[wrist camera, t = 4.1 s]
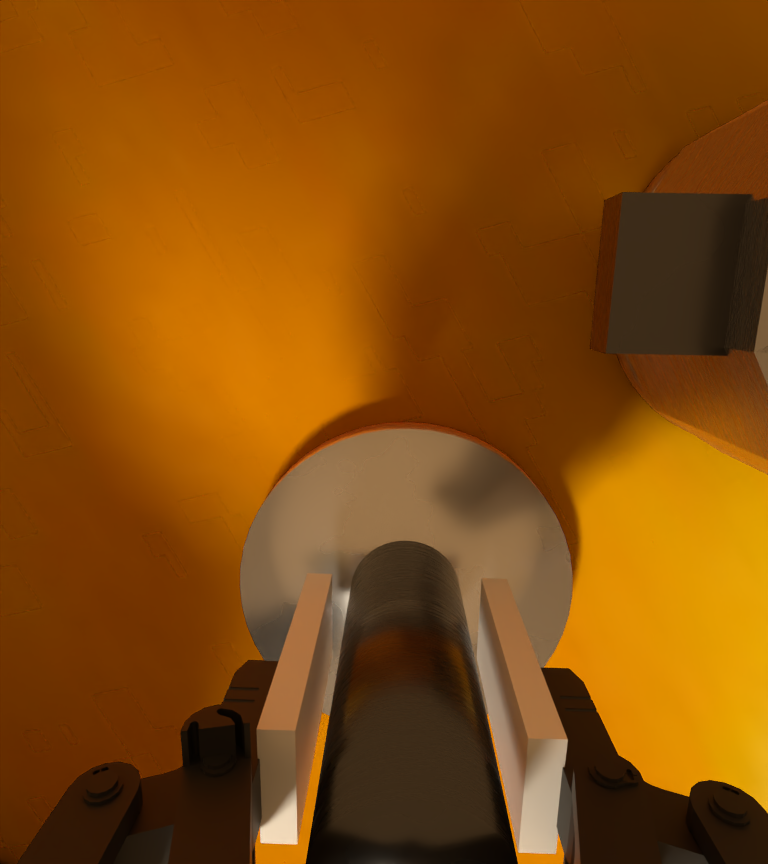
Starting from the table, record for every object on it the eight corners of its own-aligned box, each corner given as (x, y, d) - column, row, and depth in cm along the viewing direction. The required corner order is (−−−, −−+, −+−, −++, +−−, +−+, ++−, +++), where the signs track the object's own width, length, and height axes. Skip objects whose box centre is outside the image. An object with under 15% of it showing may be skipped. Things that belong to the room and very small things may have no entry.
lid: (253, 705, 22) (112, 1110, 11) (243, 417, 19) (44, 576, 9) (549, 714, 22) (701, 1136, 11) (576, 424, 19) (810, 597, 8)
